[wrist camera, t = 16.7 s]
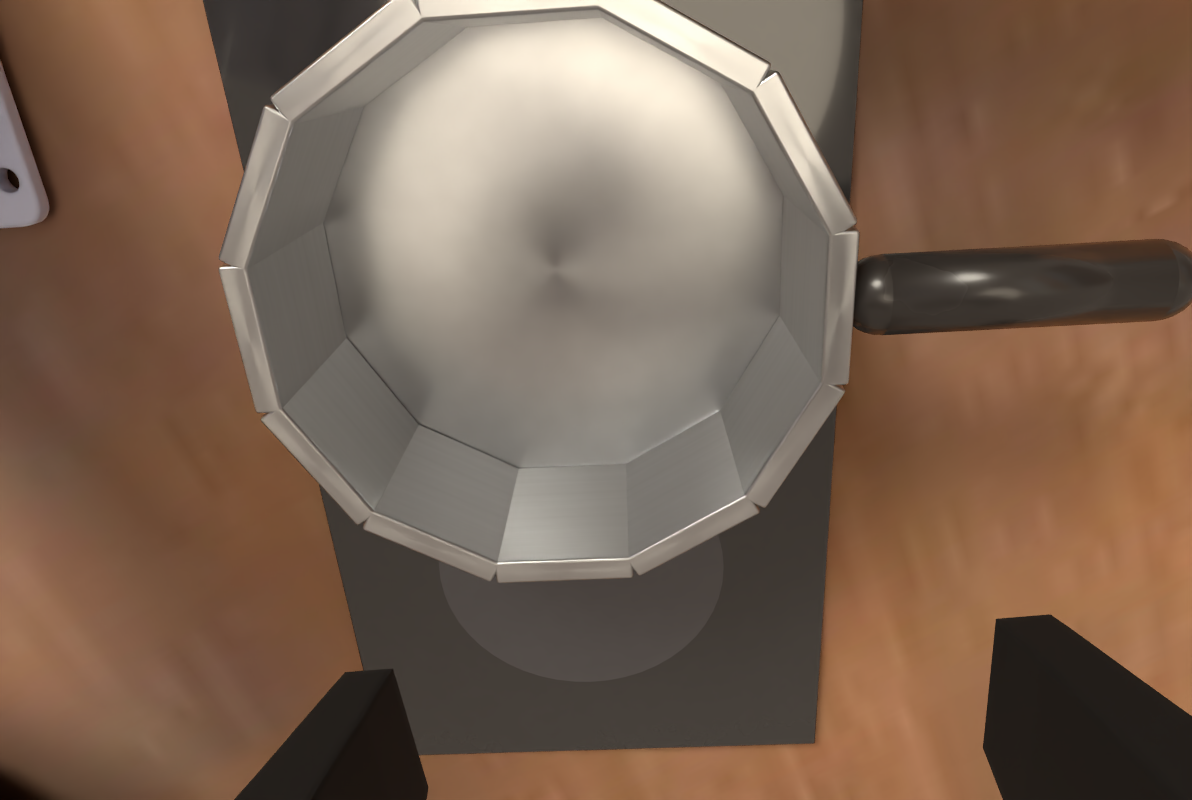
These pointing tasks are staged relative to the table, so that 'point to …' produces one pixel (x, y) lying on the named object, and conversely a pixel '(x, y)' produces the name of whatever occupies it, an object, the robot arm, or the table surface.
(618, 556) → the saucepan
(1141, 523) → the table surface
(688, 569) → the hob
